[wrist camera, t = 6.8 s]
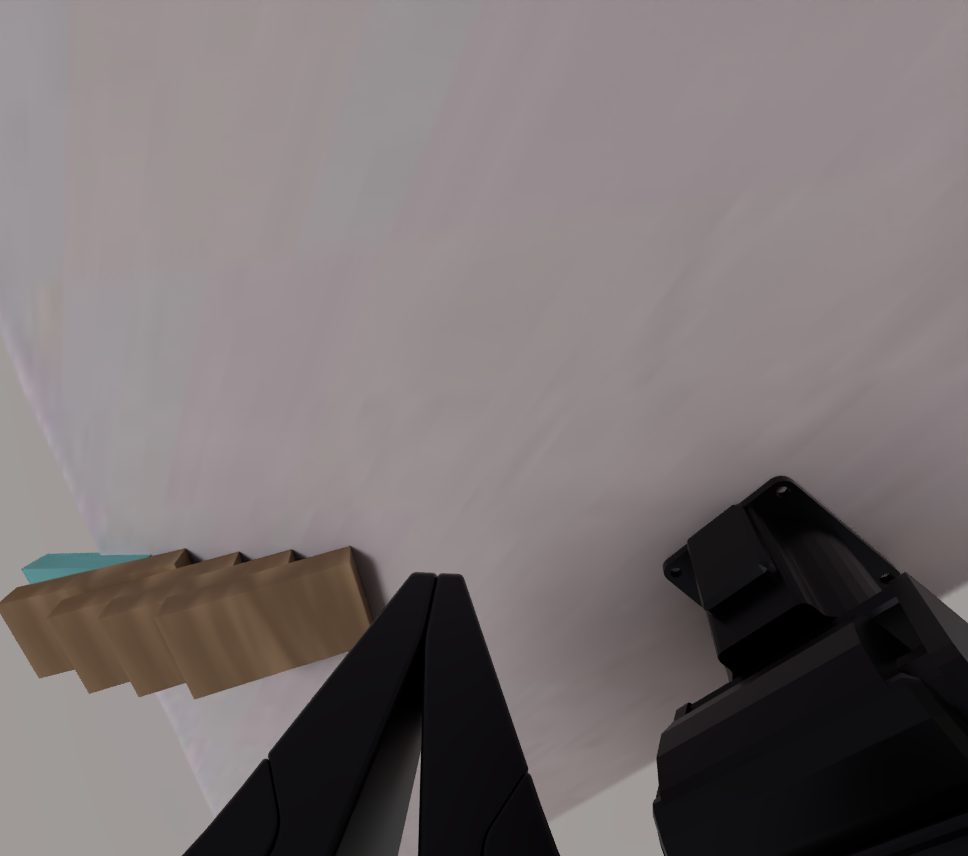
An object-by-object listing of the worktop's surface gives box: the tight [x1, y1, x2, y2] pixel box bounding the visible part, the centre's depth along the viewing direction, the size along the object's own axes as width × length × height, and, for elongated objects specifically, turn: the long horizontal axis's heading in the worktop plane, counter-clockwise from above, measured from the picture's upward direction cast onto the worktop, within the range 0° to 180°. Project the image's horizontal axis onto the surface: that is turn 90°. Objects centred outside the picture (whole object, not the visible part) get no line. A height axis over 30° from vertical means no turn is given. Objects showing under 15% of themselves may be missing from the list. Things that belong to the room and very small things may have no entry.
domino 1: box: [154, 546, 374, 699], centre depth 25 cm, size 2×5×9 cm
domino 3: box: [46, 552, 243, 694], centre depth 27 cm, size 2×5×9 cm
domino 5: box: [22, 553, 151, 584], centre depth 31 cm, size 2×5×9 cm
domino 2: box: [96, 549, 296, 697], centre depth 26 cm, size 2×5×9 cm
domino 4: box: [0, 549, 192, 678], centre depth 28 cm, size 2×5×9 cm
